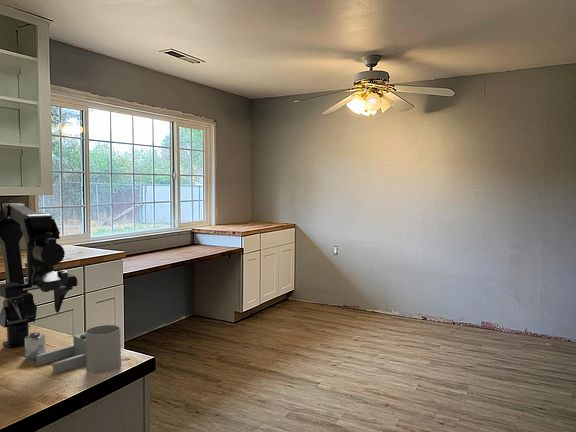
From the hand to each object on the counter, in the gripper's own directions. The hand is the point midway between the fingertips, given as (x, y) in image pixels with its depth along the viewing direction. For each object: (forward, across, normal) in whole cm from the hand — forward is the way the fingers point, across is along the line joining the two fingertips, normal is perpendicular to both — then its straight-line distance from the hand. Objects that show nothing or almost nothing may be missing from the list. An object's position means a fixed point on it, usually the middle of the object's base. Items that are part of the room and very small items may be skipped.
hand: (40, 316), depth 124 cm
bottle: (+12, -1, +2) cm, 12 cm away
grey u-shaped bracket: (+12, +4, -8) cm, 15 cm away
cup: (+12, +7, -20) cm, 24 cm away
